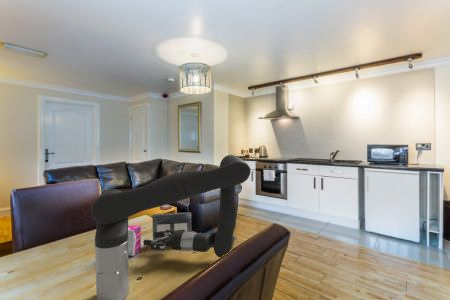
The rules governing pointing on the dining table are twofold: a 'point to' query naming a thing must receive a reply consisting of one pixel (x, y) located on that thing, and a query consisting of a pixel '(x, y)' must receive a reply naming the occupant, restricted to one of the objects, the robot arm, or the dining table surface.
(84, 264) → the dining table surface
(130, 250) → the supplement box
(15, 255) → the dining table surface
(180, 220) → the label panel
